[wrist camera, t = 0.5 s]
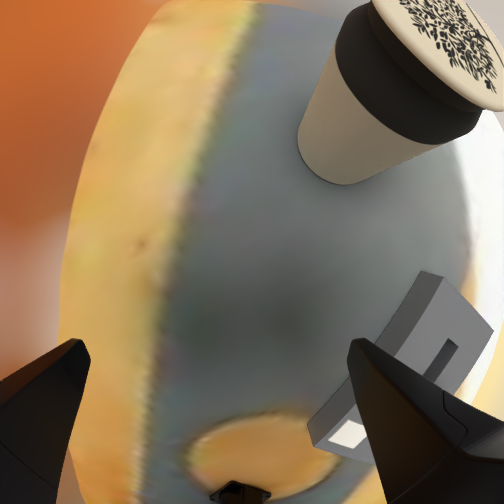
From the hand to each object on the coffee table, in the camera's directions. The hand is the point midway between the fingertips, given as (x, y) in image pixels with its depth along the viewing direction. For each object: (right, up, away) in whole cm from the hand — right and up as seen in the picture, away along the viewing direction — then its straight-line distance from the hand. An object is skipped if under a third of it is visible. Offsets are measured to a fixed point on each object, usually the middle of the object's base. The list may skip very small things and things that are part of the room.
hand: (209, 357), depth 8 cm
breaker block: (+18, -10, +17) cm, 26 cm away
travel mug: (+9, +13, +15) cm, 22 cm away
